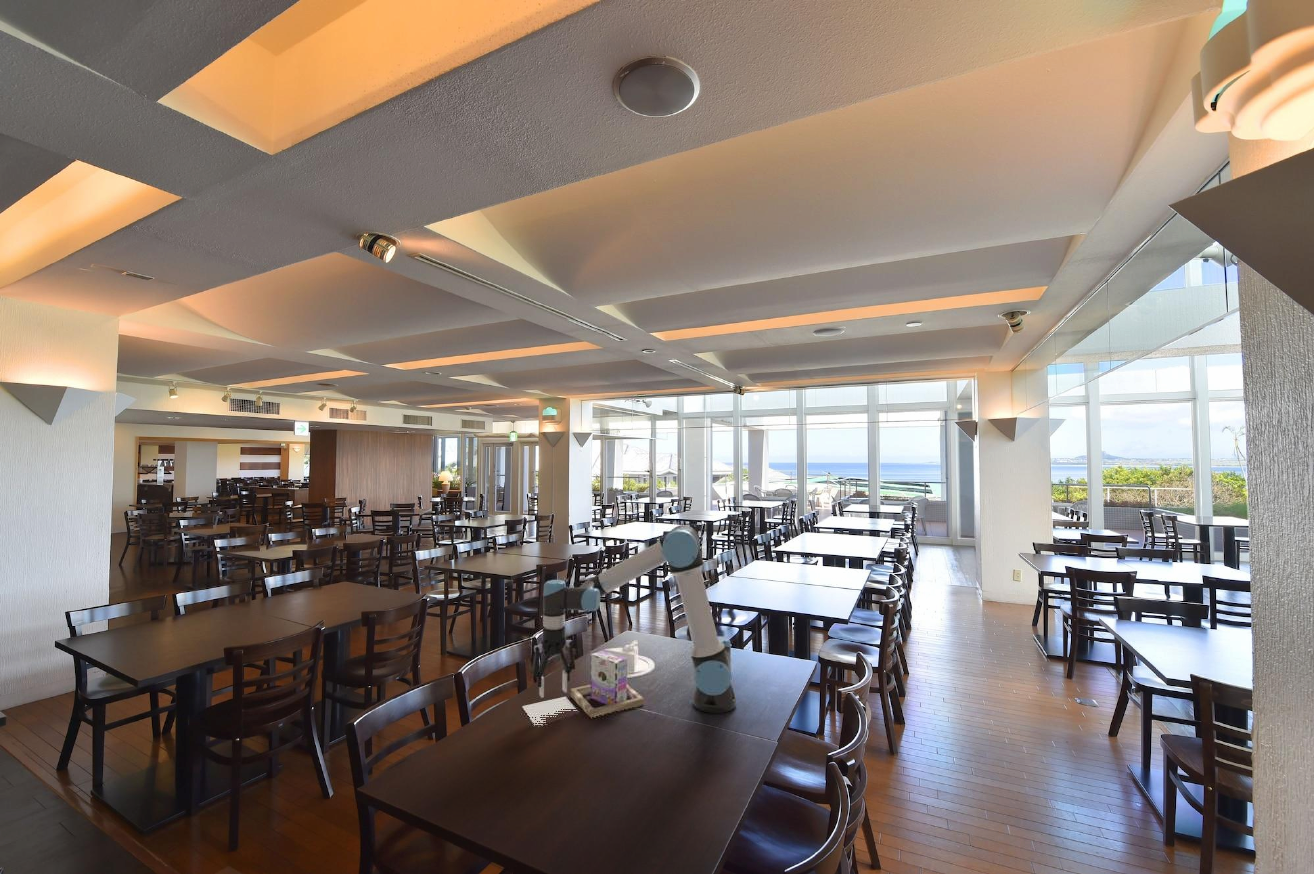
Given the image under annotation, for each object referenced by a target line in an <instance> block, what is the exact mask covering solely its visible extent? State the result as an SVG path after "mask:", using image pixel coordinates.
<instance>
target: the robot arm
mask: <svg viewBox="0 0 1314 874" xmlns="http://www.w3.org/2000/svg"><path fill="white" fill-rule="evenodd" d="M700 546H701V540H700V536H699V533H698V532H697V531H696V530H695V528H693V527H691V526H689V525H683V524H682V525H678V526H675V527H673V528H672V529H671V530H670V531H669V532H668V533H666V534H665V535H663V536H661V537H660V538H658V541H657V542H656V543H654V544H652V545H650V546H648V547H647V548H645V549H643V550H641V551H639V552H638V553H635V554H633V555H632V556H630V557H628V558H627V559H624V560H623V561H621V562H619V563H617V564H616V565H614V566H612V567H610V568H608V569H606V570H605V571H602V572H601V573H599V574H598V575H595V576H593V577H590V578H589V579H587V580H585V582H584V583H583V584H581V585H580V586H579V587H570V586H567V585H566V582H565V580H561V579H551V580H547V581H546V582H545V583H544V584H543V593H542V597H543V599H542V600H543V601H542V602H543V603H542V605H543V606H542V607H543V608H542V609H543V611H542V615H543V616H542V626H543V627H542V641H541V644H538V645H536V644H535V645H533V652H534V653H533V661H532V667H531V672H530V673H531V676H532V677H533V678H536V686H537V687H538V689H539V690H538V691H539V693H538V694H539V696H540V698H541V699H542V698H544V697H545V677H544V676H543V674H544V672H545V670H546V666H547V664H548V661H549V659H550V657H551V656H553V655H558V656H559V659H560V661H561V664H562V666H563V669H564V670H562V677H561V679H562V681H561V683H562V684H561V685H562V689H561V690H562V691H563V693H564V694H565V693H568V682H570V677H571V675H570V674H571V672H572V671H573V670H575V669H576V664H575V657H574V656H575V655H574V641H573V640H571V639H567V640H566V627H565V625H566V611H583V612H584V611H585V612H591V611H592V612H593V611H597V610H599V608H600V604H601V597H603V596H606V595H607V594H609V593H611V592H612V591H615V590H616V589H618V588H620V587H622V586H624V585H625V584H627V583H630V582H631V581H633V580H635V579H637V578H639V577H640V576H643V575H644V574H646V573H648V572H650V571H652V570H654V569H656V568H658V567H659V566H661V565H663V564H665V563H667V565H668V566H667V567H668V569H669V572H670V574H672V575H673V576H675V579H676V583H677V587H678V591H679V594H680V598H681V599H680V600H681V601H682V602H681V603H682V607H683V611H684V614H685V619H686V623H687V625H688V631H689V635H690V637H691V638H690V639H691V641H692V647H693V648H692V649H691V651H690V657H691V661H692V666H693V669H694V676H693V677H694V678H693V679H694V683H695V689H694V692H693V694H692V704H693V706H694V708H696V709H698V710H699V711H702V712H705V713H708V714H724V713H729V712H731V711H733V710H734V709H735V708H736V705H737V703H736V701H737V700H736V695H735V692H734V688H733V685H732V666H731V665H732V664H731V663H732V662H731V661H732V657H731V656H732V655H731V651H732V649H731V648H732V646H731V640H730V639H729V638H727V637H726V636H725V637H724V636H720V635H719V636H718V633H717V629H716V626H715V622H714V618H713V614H712V610H711V606H710V603H709V599H708V594H707V591H706V587H705V582H704V577H703V574H702V568H703V566H704V565H705V564H704V560H703V557H702V556H703V555H702V552H701V549H700ZM565 646H566V649H567V657H568V661H567V658H566V656H565V653H564V650H563V649H564V647H565ZM542 649H543V650H544V651H543V655H542V658H541V661H540V657H541V655H540V654H541V652H542ZM539 662H540V663H539ZM728 711H729V712H728Z"/></svg>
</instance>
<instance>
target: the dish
mask: <svg viewBox="0 0 1314 874" xmlns="http://www.w3.org/2000/svg"><path fill="white" fill-rule="evenodd" d="M638 644H639V643H638V640H633V641H632V642H631V643H629V644H626V645H625V644H624V646H623V647H613V648H604V649H603V651H605V652H608V653H610V654H613V655H616V656H619V657H622V658H625V659H627V679H633V678H638V677H639V678H640V677H643V676H646V675H647V674H650V673H651V672H653V671H654V670H655V666H656V664H655V661H653V660H652V659H650V658H649V657H647V656H643V655H639V645H638Z"/></svg>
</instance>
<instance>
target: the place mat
mask: <svg viewBox="0 0 1314 874" xmlns="http://www.w3.org/2000/svg"><path fill="white" fill-rule="evenodd" d="M521 707H522V709H523V710H524V712H525V713H527V714H526V715H527V716H529V717H530V718H529V717H528V718H529V719H530V721H531V722H532V724H533V723H534V724H533V726H535V725H541V726H544V725H543V724H538V723H546V722H543V721H546V720H541V719H546V718H540V717H549V716H546V715H558V714H554V713H562V712H558V711H571V710H563V709H577V708H576V707H575V706H574V704H573V703H572V702H571V701H570V700H569V699H568V698H567V696H562V697H559V698H553V699H548V700H544V701H539V702H535V703H531V704H527V705H523V706H521ZM561 709H562V710H561ZM556 711H557V712H556ZM573 711H578V709H577V710H573ZM548 713H549V714H548ZM563 713H564V712H563ZM541 715H542V716H541ZM543 715H545V716H543ZM532 717H533V718H532ZM535 717H536V718H535ZM550 717H552V716H550ZM553 717H554V716H553ZM555 717H556V716H555ZM535 719H536V720H535ZM537 721H538V722H537ZM539 721H540V722H539ZM535 723H537V724H535Z"/></svg>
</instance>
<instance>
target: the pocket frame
mask: <svg viewBox="0 0 1314 874" xmlns="http://www.w3.org/2000/svg"><path fill="white" fill-rule="evenodd" d="M588 695H591V684H587V685H582V686H577V687H574V688H573V687H572V688H570V698H572V699H573V700H574V701H575V702H576V704H577V705H578V706H579V707H580V708H581V709H582V710H583V712H585V713H586V714H587V716H588V717H589V718H590V717H591V718H590V719H593V718H592V717H594V718H597V717H596V716H598V717H600V716H599V715H602V716H605V715H604V714H606V713H610V714H613V713H612V712H614V713H616V712H615V711H618V712H621V710H622V711H625V710H624V709H626V710H629V708H630V709H633V708H632V707H634V708H637V707H641V705H642V706H644V705H645V699H644V697H643V696H642V695H640V694H639V693H638V692H637V691H636V690H635V689H633V688H632V687H631V686H630V685H629V684H627V697H629V698H630V699H627V701H623V702H618V703H614V704H610V705H606V704H605V705H602V706H599V707H593V706H592V705H591V704H590V703H589V702H588V701H587V700H586V698H585V697H584V696H588ZM606 715H607V714H606Z"/></svg>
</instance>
